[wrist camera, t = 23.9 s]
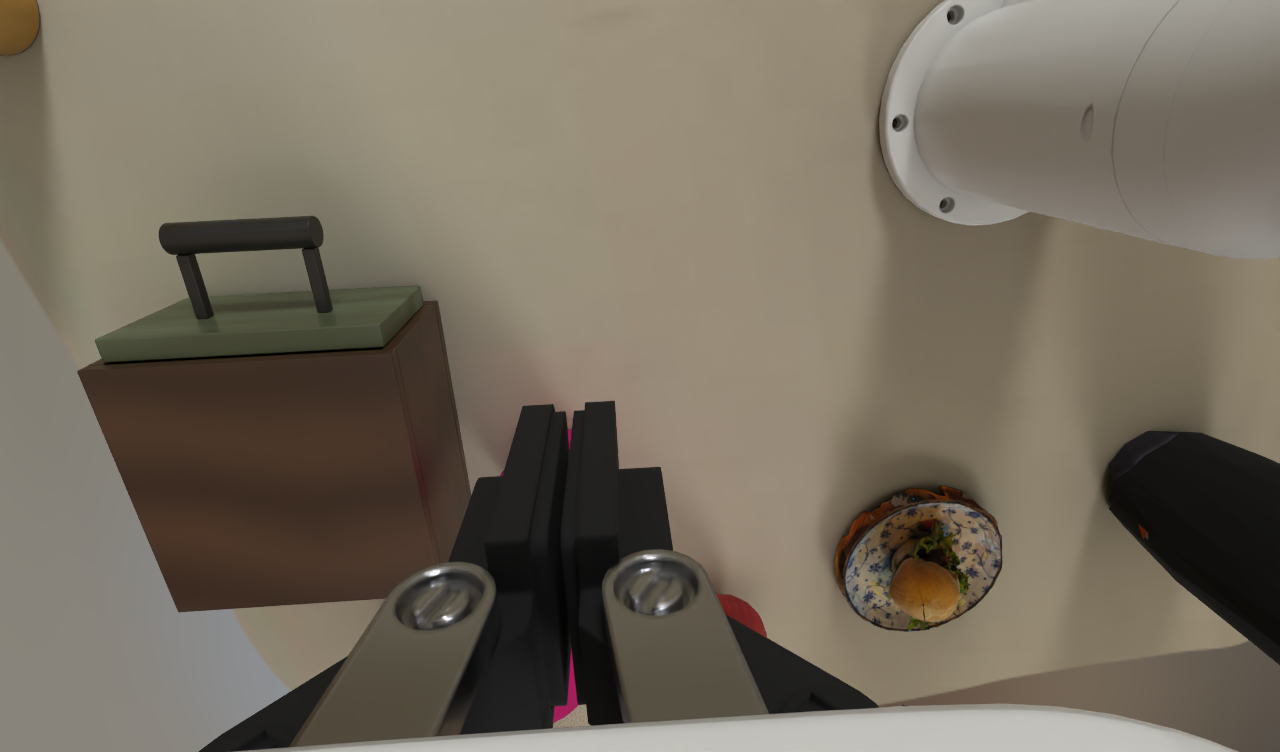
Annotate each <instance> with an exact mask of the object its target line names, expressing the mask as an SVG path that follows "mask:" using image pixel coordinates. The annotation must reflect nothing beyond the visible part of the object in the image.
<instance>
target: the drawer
mask: <svg viewBox="0 0 1280 752" xmlns="http://www.w3.org/2000/svg"><path fill="white" fill-rule="evenodd" d="M159 240H160V243H161V245H162V247H163V249H164V250H165V251H166V252H167V253H169V254H172V255H177V256H176V258H177V261H178V264H179V267H180V270H181V273H182V276H183V279H184V282H185V285H186V288H187V291H188V294H189V297H190V298H186V299H184V300H182V301H180V302H177V303H175V304H173V305H171V306H168V307H166V308H164V309H162V310H160V311H157V312H155V313H153V314H151V315H148V316H146V317H144V318H142V319H140V320H137V321H135V322H133V323H131V324H128V325H126V326H124V327H122V328H120V329H117V330H115V331H113V332H111V333H109V334H106V335H104V336H102V337H100V338H97V339H95V343H96V345H97V348H98V350H99V353H100V355H101V358H102V360H103V362H104V363H109V362H127V361H145V360H163V359H172V360H170V361H185V360H203V359H221V358H239V357H257V356H275V355H293V354H311V353H329V352H347V351H365V350H382V349H383V348H384V347H385V346H386V345H387V344H388V342H389V341H390V340H391V339H392V338H393V337H394V336H395V335H396V334H397V333H398V332H399V331H400V330H401V329H402V327H403V326H404V325H405V324H406V323H407V322H408V321H409V320H410V319H411V318H412V316H413V315H414V314H415V313H416V312H417V311H418V310H419V309H420V308H421V307H422V306H423V299H422V294H421V288H420V286H401V287H382V288H363V289H344V290H328V286H327V282H326V277H325V273H324V269H323V265H322V261H321V257H320V252H319V248H318V247H320V246H321V245H322V243H323V229H322V226H321V223H320V221H319V220H318V218H317V217H315V216H300V217H280V218H259V219H239V220H219V221H198V222H178V223H165V224H163V225H162V226H161V227H160V229H159ZM298 248H304V249H302V252H303V256H304V260H305V264H306V268H307V272H308V276H309V280H310V284H311V288H312V291H306V292H287V293H268V294H249V295H230V296H211V297H208V294H207V291H206V288H205V285H204V281H203V278H202V275H201V272H200V269H199V266H198V263H197V259H196V256H195V254H200V253H219V252H239V251H259V250H279V249H298Z"/></svg>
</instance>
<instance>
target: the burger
mask: <svg viewBox="0 0 1280 752" xmlns="http://www.w3.org/2000/svg"><path fill="white" fill-rule="evenodd" d="M941 490H942V493H943V494H944V495H945V496H939V495H937V494H935V493H933V492H930V491H926V490H923V489H907V490H906V492H905V493H896V494H895V495H894V496H893V498H892V500H889V501H888V502H882V504H881V506H880V507H879V508H877V509H875V510H874V511H872V512H868V511H867V512H863V513H862V514H861V516H860V517H859V518H858V519H856V520H855V521H854V522H853V524H852V526H851V529H850V533H849V535H847V536H843V538H842V540H841V542H840V544H839V546H838V550H837V554H836V558H835V575H836V579H837V583H838V586H839V587H840V589H841V591H842V593H843V595H844V596H845V597H846V598H847V601H848V602H849V604H850V606H851V608H852V609H853V610H854V611H855V613H856V614H857V615H859V616H860V617H861V618H862V619H864V620H866V621H868V622H870V623H871V624H873V625H875V626H877V627H880V628H883V629H887V630H895V631H906V632H911V631H920V630H926V629H928V630H929V629H930V628H933V627H938V626H940V625H942V624H945V623H947V622H949V621H951V620H953V619H956V618H958V617H960V616H961V615H962V614H964V613H965V612H967V611H969V610H971V609H972V608H973V607H974V606H976V605H977V604H978V603H979V602H980V601H981V600H982V599H983V598H984V597H985V595H986V594H987V593H988V592H989V590H990V589H991V588H992V587H993V585H994V583H995V581H996V579H997V577H998V575H999V573H1000V571H1001V568H1002V536H1001V535H1000V533H999V530H998V527H997V525H998V523H997V521H996V520H995V518H994V517H993V516H992V515H991V514H989V513H988V512H987V511H986V510H984V509H983V508H982V507H980V506H979V505H978V504H977V503H976V502H975V501H974V500H972V499H971V498H970V497H969V496H968V495H967V494H966V493H964V492H963V491H961V490H958V491H957V490H955V489H951V488H949V487H945V486H941Z"/></svg>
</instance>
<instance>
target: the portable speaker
mask: <svg viewBox="0 0 1280 752" xmlns="http://www.w3.org/2000/svg"><path fill="white" fill-rule="evenodd" d="M1109 466H1110V470H1111V475H1112V483H1111V492H1110V503H1111V506H1110V508H1109V510H1111V511H1112V513H1113V514H1114V515H1115V516H1116V518H1117V519H1118V520H1119V521H1120V522H1121V524H1122V525H1123V526H1124V527H1125V528H1126V529H1127V530H1128V531H1129V532H1130V533H1131V534H1132V535H1133V536H1134V537H1135V538H1136V539H1137V540H1138V541H1139V542H1140V544H1141V545H1142V546H1143V547H1144V548H1145V549H1146V550H1147V551H1148V552H1149V553H1150V554H1151V555H1152V556H1153V557H1154V558H1155V559H1156V560H1157V561H1158V562H1159V563H1160V564H1161V565H1162V566H1163V568H1164V569H1165V570H1166V571H1167V572H1168V573H1169V574H1170V575H1171V576H1172V577H1173V578H1174V579H1175V580H1176V581H1177V582H1178V583H1179V584H1181V585H1182V586H1183V587H1184V588H1186V589H1187V590H1188V591H1189V592H1190V593H1192V594H1193V595H1194V596H1195V597H1197V598H1198V599H1199V600H1200V601H1202V602H1203V603H1204V604H1205V605H1206V606H1208V607H1209V608H1210V609H1211V610H1213V611H1214V612H1215V613H1216V614H1217V615H1219V616H1220V617H1221V618H1222V619H1224V620H1225V621H1226V622H1227V623H1229V624H1230V625H1231V626H1232V627H1233V628H1235V629H1236V630H1237V631H1238V632H1240V633H1241V634H1242V635H1243V636H1245V637H1246V638H1247V639H1248V640H1249V641H1251V642H1252V643H1253V644H1254V645H1256V646H1257V647H1258V648H1259V649H1261V650H1262V651H1263V652H1264V653H1265V654H1267V655H1268V656H1269V657H1270V658H1272V659H1273V660H1274V661H1275V662H1276V663H1278V664H1279V665H1280V464H1279V463H1277V462H1275V461H1272V460H1270V459H1268V458H1265V457H1263V456H1261V455H1258V454H1256V453H1253V452H1250V451H1248V450H1245V449H1242V448H1240V447H1237V446H1234V445H1232V444H1229V443H1227V442H1224V441H1221V440H1219V439H1216V438H1213V437H1211V436H1208V435H1205V434H1203V433H1194V432H1163V431H1147V432H1146V433H1144V434H1142V435H1140V436H1139V437H1137V438H1135V439H1134V440H1132V441H1130V442H1129V443H1127V444H1125V446H1124V447H1123V448H1122V449H1121V450H1120V452H1119V453H1118V454H1117V455H1116V456H1115V457H1114V459H1113V460H1112V461H1111V462H1110V463H1109Z"/></svg>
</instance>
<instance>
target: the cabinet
mask: <svg viewBox="0 0 1280 752" xmlns="http://www.w3.org/2000/svg"><path fill="white" fill-rule="evenodd" d="M170 360H172V359H163V360H145V361H127V362H109V363H104V362H103V360H102V359H100V360H98V361H96V362H94V363H92V364H90V365H88V366H87V367H85V368H83V369H81V370H79V371H78V375H79V377H80V380H81V382H82V384H83V387H84V389H85V391H86V394H87V396H88V399H89V401H90V403H91V406H92V408H93V410H94V413H95V415H96V418H97V420H98V422H99V425H100V427H101V429H102V432H103V434H104V437H105V439H106V441H107V444H108V446H109V449H110V451H111V453H112V455H113V458H114V460H115V463H116V465H117V467H118V470H119V472H120V474H121V477H122V479H123V482H124V484H125V487H126V489H127V491H128V494H129V496H130V498H131V501H132V503H133V506H134V508H135V510H136V512H137V515H138V517H139V520H140V522H141V525H142V527H143V529H144V532H145V534H146V536H147V539H148V541H149V544H150V546H151V548H152V551H153V553H154V555H155V558H156V560H157V562H158V565H159V567H160V570H161V572H162V575H163V577H164V579H165V582H166V584H167V586H168V589H169V591H170V594H171V596H172V598H173V601H174V603H175V605H176V608H177V610H178V612H188V611H204V610H219V609H234V608H249V607H264V606H279V605H294V604H309V603H324V602H338V601H353V600H368V599H383V598H387V596H388V595H389V594H390V593H391V592H392V591H393V589H394V588H395V587H396V586H397V585H398V584H399V583H400V582H402V581H403V580H405V579H406V578H407V577H409V576H410V575H411V574H413V573H416V572H418V571H420V570H422V569H424V568H426V567H430V566H433V565H437V564H441V563H447V562H448V561H449V558H450V555H451V552H452V549H453V547H454V544H455V541H456V538H457V535H458V532H459V530H460V527H461V524H462V521H463V518H464V515H465V513H466V510H467V507H468V504H469V501H470V498H471V492H470V486H469V480H468V475H467V469H466V463H465V457H464V451H463V445H462V440H461V434H460V428H459V422H458V416H457V410H456V405H455V399H454V393H453V387H452V381H451V376H450V370H449V364H448V358H447V352H446V346H445V341H444V335H443V329H442V323H441V317H440V311H439V306H438V301H425V302H423V306H422V307H421V308H420V309H419V310H418V311H417V312H416V313H415V314H414V315H413V316H412V318H411V319H410V320H409V321H408V322H407V323H406V324H405V325H404V326H403V327H402V329H401V330H400V331H399V332H398V333H397V334H396V335H395V336H394V337H393V338H392V339H391V340H390V341H389V342H388V344H387V345H386V346H385V347H384V348H383V349H382V350H365V351H347V352H329V353H311V354H293V355H275V356H257V357H239V358H221V359H203V360H185V361H170Z"/></svg>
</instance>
